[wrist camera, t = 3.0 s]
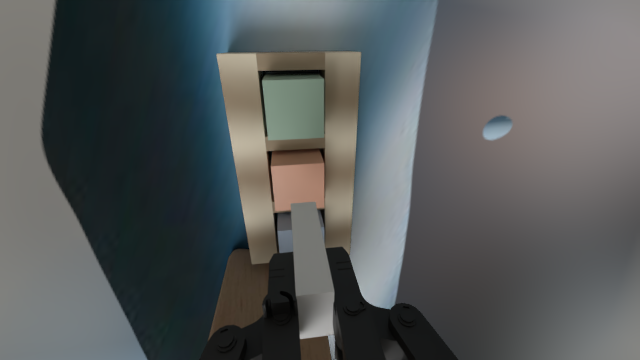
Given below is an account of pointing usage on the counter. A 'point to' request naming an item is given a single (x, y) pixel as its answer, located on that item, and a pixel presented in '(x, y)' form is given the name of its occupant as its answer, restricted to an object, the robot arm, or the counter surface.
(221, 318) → the block
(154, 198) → the counter surface
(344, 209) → the wooden slotted tray
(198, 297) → the counter surface
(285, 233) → the grey small cube
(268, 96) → the green button
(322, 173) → the terracotta button
